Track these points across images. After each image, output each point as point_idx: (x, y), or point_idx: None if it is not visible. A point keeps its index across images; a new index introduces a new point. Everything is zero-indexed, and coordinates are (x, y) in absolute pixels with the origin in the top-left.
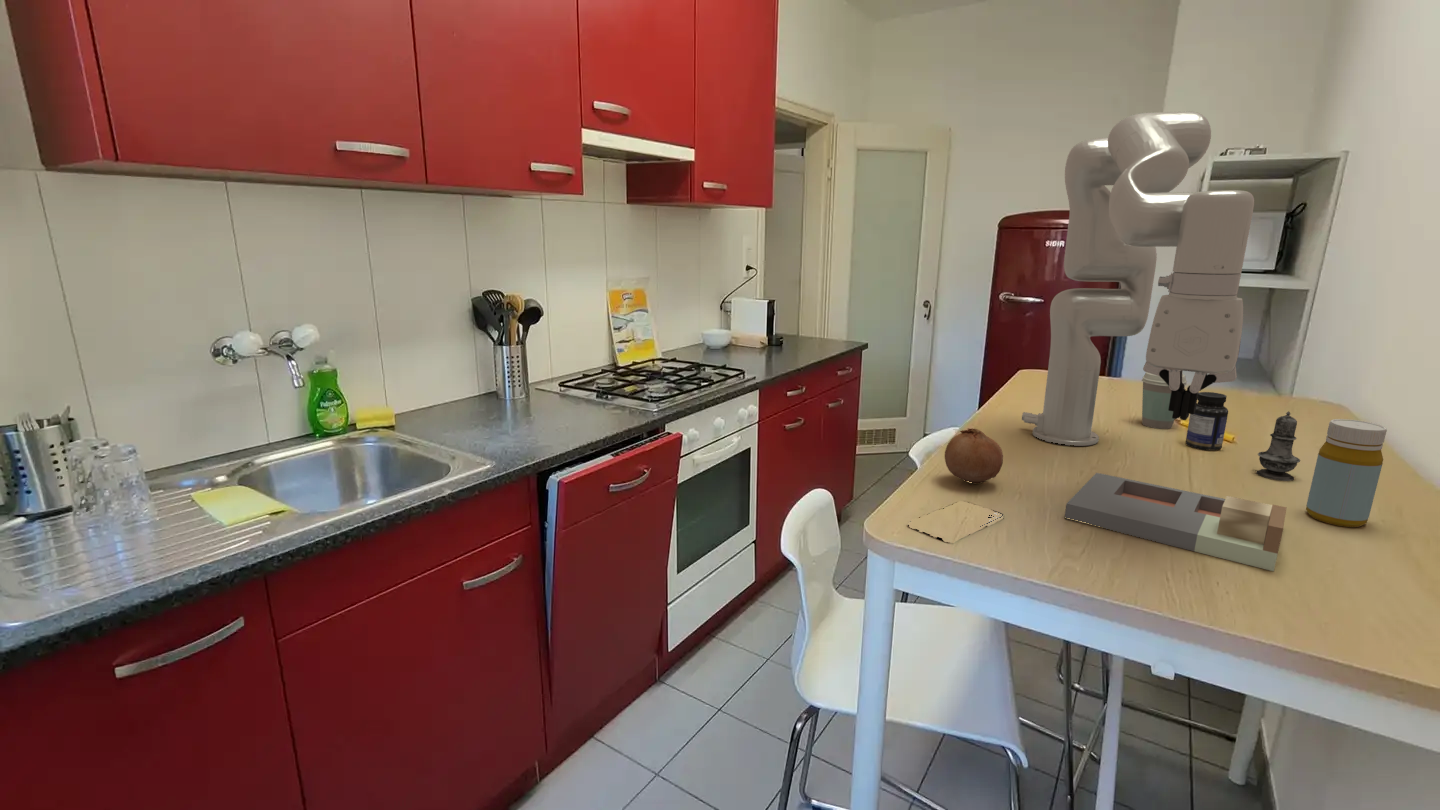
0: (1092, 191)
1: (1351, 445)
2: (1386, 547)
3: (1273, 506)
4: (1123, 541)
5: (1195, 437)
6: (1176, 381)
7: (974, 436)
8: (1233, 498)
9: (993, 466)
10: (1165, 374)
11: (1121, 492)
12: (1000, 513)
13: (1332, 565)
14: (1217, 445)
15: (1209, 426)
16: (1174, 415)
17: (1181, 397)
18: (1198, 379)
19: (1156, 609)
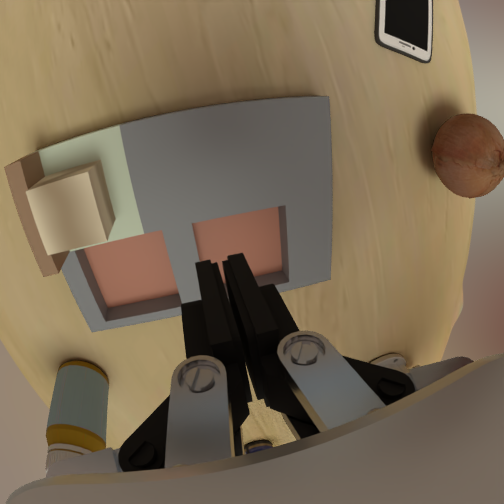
0: None
1: (61, 447)
2: (22, 336)
3: (53, 264)
4: (216, 71)
5: (264, 449)
6: (309, 376)
7: (499, 151)
8: (94, 236)
9: (447, 135)
10: (384, 385)
11: (283, 260)
12: (383, 42)
13: (12, 238)
14: (244, 451)
15: None
16: (237, 258)
17: (242, 317)
18: (196, 430)
19: None
